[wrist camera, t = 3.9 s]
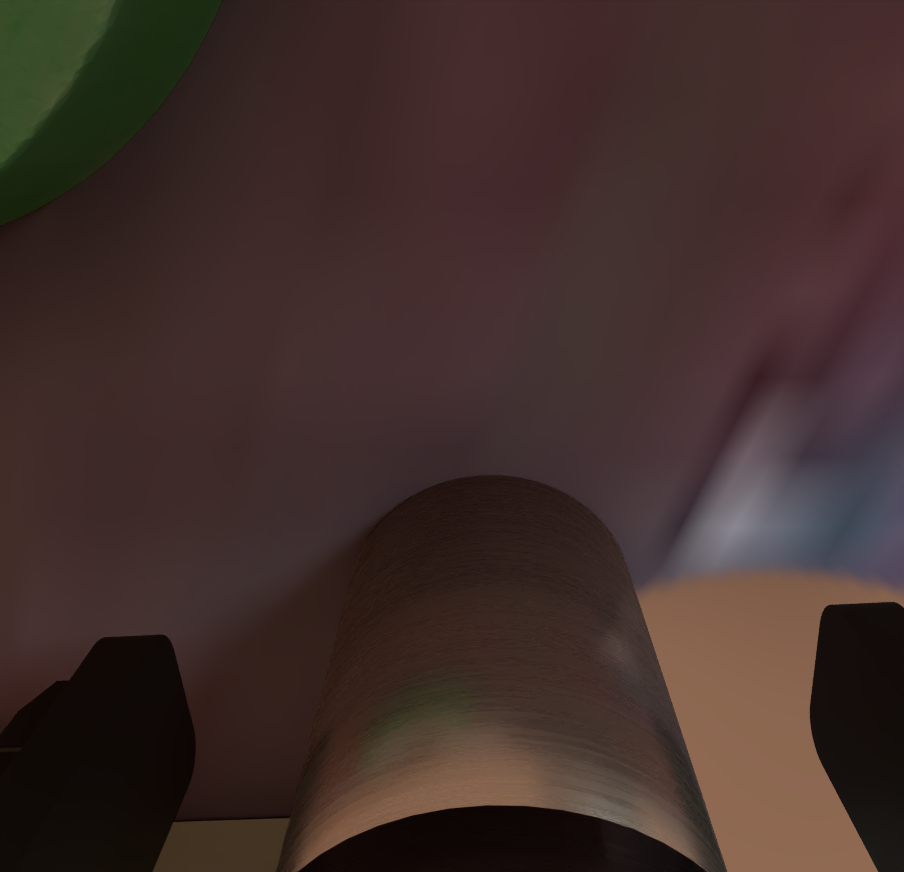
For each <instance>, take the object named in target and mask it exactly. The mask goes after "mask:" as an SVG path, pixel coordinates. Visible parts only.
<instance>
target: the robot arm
mask: <svg viewBox="0 0 904 872" xmlns="http://www.w3.org/2000/svg"><path fill="white" fill-rule="evenodd" d="M810 723H811V731H812V736H813V740H814V744H815V748H816V751H817V754H818V756H819V759H820V761H821V763H822V765H823V767H824V769H825V771H826V773H827V775H828V777H829V779H830V781H831V782H832V784H833V786H834V788H835V790H836V792H837V794H838V796H839V798H840V800H841V802H842V803H843V805H844V807H845V809H846V811H847V813H848V815H849V817H850V819H851V821H852V822H853V824H854V826H855V828H856V830H857V832H858V834H859V836H860V838H861V839H862V842H863V843H864V845H865V847H866V849H867V851H868V853H869V855H870V857H871V859H872V861H873V862H874V864H875V866H876V868H877V870H878V872H904V608H903V607H902V606H901V605H899V604H898V603H895V602H881V603H861V604H839V605H828V606H827V607H826V608H825V609H824V611H823V613H822V616H821V621H820V627H819V636H818V644H817V652H816V660H815V669H814V677H813V686H812V694H811V703H810ZM195 747H196V745H195V732H194V727H193V723H192V719H191V715H190V711H189V707H188V704H187V700H186V696H185V692H184V688H183V684H182V680H181V676H180V672H179V668H178V664H177V660H176V656H175V652H174V649H173V646H172V643H171V641H170V640H169V638H168V637H166V636H165V635H144V636H123V637H104V638H102V639H100V640H99V641H97V642H96V644H95V645H94V646H93V647H92V649H91V650H90V652H89V653H88V655H87V656H86V657H85V659H84V660H83V662H82V663H81V665H80V666H79V667H78V669H77V670H76V672H75V673H74V675H73V676H72V677H71V679H70V680H69V681H56V682H55V683H54V684H52V685H51V686H50V687H49V688H47V689H46V690H45V691H44V692H42V693H41V694H40V695H38V696H37V697H36V698H35V699H33V700H32V701H31V702H30V703H28V704H27V705H26V706H24V707H23V708H22V709H21V710H19V711H18V712H17V714H16V715H15V716H14V718H13V719H12V720H11V722H10V723H9V724H8V726H7V727H6V728H5V730H4V731H3V732H2V734H1V735H0V872H153V870H154V867H155V865H156V862H157V860H158V858H159V855H160V853H161V850H162V848H163V846H164V843H165V841H166V839H167V836H168V834H169V831H170V829H171V827H172V824H173V822H174V819H175V817H176V815H177V812H178V810H179V808H180V805H181V803H182V800H183V798H184V796H185V793H186V791H187V788H188V786H189V783H190V781H191V777H192V773H193V768H194V762H195Z"/></svg>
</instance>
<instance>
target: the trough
mask: <svg viewBox="0 0 904 872" xmlns="http://www.w3.org/2000/svg"><path fill="white" fill-rule="evenodd" d="M289 819H290V818H278V819H249V820H220V821H191V822H173V824H172V827H171V829H170V831H169V834H168V836H167V839H166V841H165V843H164V846H163V848H162V850H161V853H160V855H159V858H158V860H157V862H156V865H155V867H154V870H153V872H276V869H277V866H278V862H279V858H280V854H281V850H282V846H283V842H284V838H285V835H286V831H287V827H288V823H289Z"/></svg>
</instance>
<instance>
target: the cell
mask: <svg viewBox="0 0 904 872" xmlns="http://www.w3.org/2000/svg"><path fill="white" fill-rule="evenodd" d="M276 872H727V870H726V866H725V864H724V860H723V857H722V854H721V852H720V848H719V846H718V842H717V839H716V836H715V833H714V830H713V827H712V824H711V821H710V818H709V815H708V812H707V809H706V806H705V802H704V800H703V796H702V793H701V790H700V787H699V784H698V781H697V778H696V775H695V772H694V769H693V766H692V763H691V760H690V757H689V754H688V751H687V748H686V745H685V741H684V738H683V735H682V732H681V729H680V726H679V723H678V720H677V717H676V714H675V711H674V708H673V705H672V702H671V699H670V696H669V693H668V690H667V686H666V683H665V680H664V677H663V674H662V672H661V668H660V666H659V662H658V659H657V656H656V653H655V650H654V647H653V644H652V641H651V638H650V635H649V632H648V628H647V626H646V623H645V619H644V617H643V613H642V610H641V607H640V604H639V601H638V598H637V595H636V592H635V589H634V586H633V583H632V580H631V577H630V574H629V570H628V567H627V564H626V562H625V559H624V557H623V554H622V552H621V549H620V547H619V545H618V544H617V542H616V540H615V539H614V537H613V535H612V534H611V532H610V531H609V530H608V529H607V527H606V526H605V525H604V524H603V522H602V521H601V520H600V519H599V518H598V517H597V516H596V515H594V514H593V513H592V512H591V511H590V510H589V509H588V508H587V507H585V506H584V505H582V504H581V503H580V502H578V501H577V500H575V499H574V498H572V497H570V496H569V495H567V494H565V493H563V492H561V491H559V490H557V489H555V488H552V487H550V486H547V485H544V484H542V483H539V482H535V481H531V480H527V479H523V478H516V477H508V476H474V477H465V478H459V479H455V480H451V481H447V482H443V483H440V484H438V485H435V486H432V487H430V488H427V489H425V490H423V491H421V492H419V493H417V494H415V495H413V496H411V497H409V498H408V499H406V500H405V501H404V502H402V503H401V504H399V505H398V506H396V507H395V508H394V509H393V510H392V511H390V512H389V513H388V514H387V515H386V516H385V517H384V518H383V519H382V520H381V521H380V522H379V523H378V525H377V526H376V527H375V528H374V530H373V531H372V532H371V533H370V535H369V537H368V538H367V540H366V542H365V543H364V545H363V547H362V549H361V551H360V553H359V556H358V558H357V561H356V564H355V568H354V571H353V575H352V579H351V583H350V587H349V591H348V595H347V598H346V602H345V606H344V610H343V614H342V618H341V622H340V626H339V629H338V633H337V637H336V641H335V645H334V649H333V653H332V657H331V660H330V664H329V668H328V672H327V676H326V680H325V684H324V688H323V691H322V695H321V699H320V703H319V707H318V711H317V715H316V718H315V722H314V726H313V730H312V734H311V738H310V742H309V746H308V749H307V753H306V757H305V761H304V765H303V769H302V773H301V777H300V780H299V784H298V788H297V792H296V796H295V800H294V804H293V808H292V811H291V815H290V819H289V823H288V827H287V831H286V835H285V838H284V842H283V846H282V850H281V854H280V858H279V862H278V866H277V869H276Z"/></svg>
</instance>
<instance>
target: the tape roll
mask: <svg viewBox="0 0 904 872" xmlns="http://www.w3.org/2000/svg"><path fill="white" fill-rule="evenodd" d="M221 2H222V0H0V226H1V225H3V224H6V223H8V222H11V221H13V220H16V219H18V218H20V217H22V216H24V215H26V214H28V213H30V212H32V211H34V210H36V209H38V208H40V207H42V206H44V205H46V204H48V203H49V202H51V201H53V200H54V199H56V198H58V197H59V196H61V195H62V194H64V193H66V192H67V191H69V190H70V189H72V188H73V187H75V186H76V185H78V184H79V183H80V182H82V181H83V180H85V179H86V178H87V177H89V176H90V175H91V174H93V173H94V172H95V171H96V170H98V169H99V168H100V167H101V166H102V165H104V164H105V163H106V162H107V161H108V160H110V159H111V158H112V157H113V156H114V155H115V154H116V153H117V152H118V151H119V150H120V149H122V148H123V147H124V146H125V145H126V144H127V143H128V142H129V141H130V140H131V139H132V138H133V137H134V136H135V134H136V133H137V132H138V131H139V130H140V129H141V128H142V127H143V126H144V125H145V124H146V123H147V121H148V120H149V119H150V118H151V117H152V115H153V114H154V113H155V112H156V111H157V110H158V108H159V107H160V106H161V105H162V103H163V102H164V101H165V100H166V98H167V97H168V95H169V94H170V93H171V91H172V90H173V88H174V87H175V85H176V84H177V83H178V81H179V80H180V78H181V77H182V75H183V74H184V73H185V71H186V70H187V68H188V66H189V65H190V63H191V61H192V59H193V58H194V56H195V54H196V52H197V50H198V49H199V47H200V45H201V43H202V41H203V40H204V38H205V36H206V34H207V32H208V30H209V28H210V26H211V24H212V23H213V21H214V18H215V16H216V14H217V11H218V9H219V7H220V5H221Z"/></svg>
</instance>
